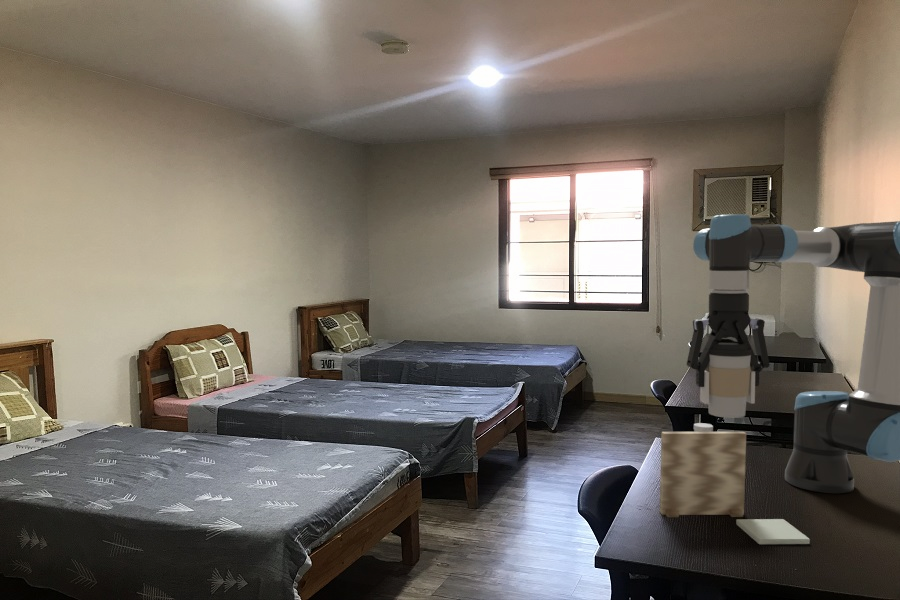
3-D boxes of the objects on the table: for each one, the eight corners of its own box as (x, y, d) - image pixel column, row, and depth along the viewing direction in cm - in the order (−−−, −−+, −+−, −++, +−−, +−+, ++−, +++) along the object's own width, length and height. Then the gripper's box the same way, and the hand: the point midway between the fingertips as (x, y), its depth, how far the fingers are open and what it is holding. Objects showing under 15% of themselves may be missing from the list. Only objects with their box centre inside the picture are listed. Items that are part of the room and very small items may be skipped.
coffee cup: (755, 420, 131) (756, 344, 130) (706, 418, 133) (707, 343, 132) (745, 409, 140) (747, 338, 139) (700, 407, 142) (701, 337, 141)
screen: (737, 509, 149) (740, 429, 148) (746, 516, 145) (749, 435, 144) (657, 509, 149) (659, 430, 148) (664, 517, 145) (666, 435, 144)
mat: (783, 523, 141) (783, 519, 141) (809, 543, 131) (809, 538, 131) (736, 524, 141) (736, 519, 141) (759, 544, 131) (759, 539, 131)
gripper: (772, 289, 139) (770, 397, 140) (669, 291, 139) (668, 399, 140) (791, 291, 131) (788, 405, 133) (682, 293, 131) (681, 407, 133)
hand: (727, 402), depth 136 cm, fingers closed on coffee cup, 8 cm apart
